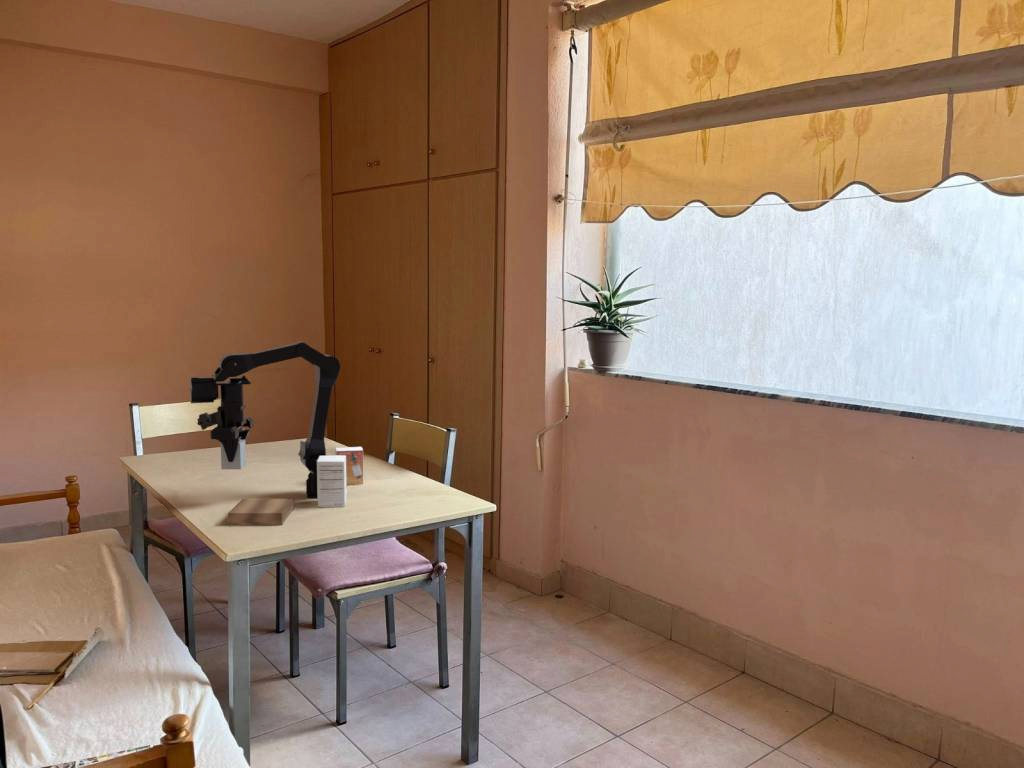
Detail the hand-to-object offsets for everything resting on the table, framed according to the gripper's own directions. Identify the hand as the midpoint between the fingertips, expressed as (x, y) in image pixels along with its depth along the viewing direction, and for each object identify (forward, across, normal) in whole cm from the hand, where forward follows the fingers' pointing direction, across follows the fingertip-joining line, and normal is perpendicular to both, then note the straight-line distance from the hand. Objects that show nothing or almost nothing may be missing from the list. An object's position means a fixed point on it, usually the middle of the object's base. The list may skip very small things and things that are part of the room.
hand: (233, 459), depth 209 cm
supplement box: (+12, 0, +26) cm, 29 cm away
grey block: (+2, 0, 0) cm, 2 cm away
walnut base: (+12, +12, +10) cm, 20 cm away
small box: (+12, -23, +27) cm, 38 cm away
